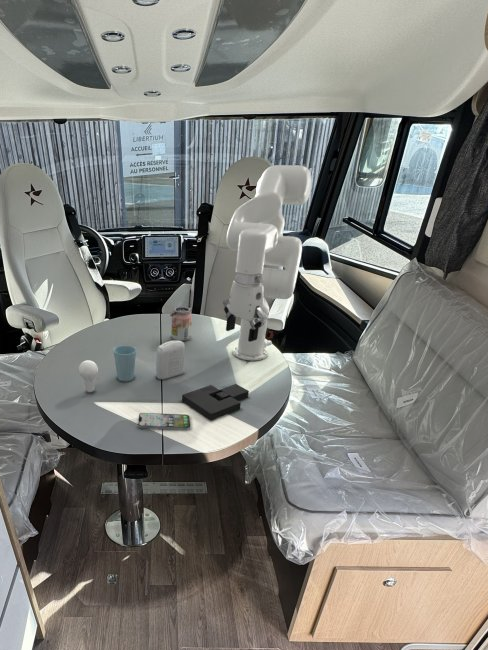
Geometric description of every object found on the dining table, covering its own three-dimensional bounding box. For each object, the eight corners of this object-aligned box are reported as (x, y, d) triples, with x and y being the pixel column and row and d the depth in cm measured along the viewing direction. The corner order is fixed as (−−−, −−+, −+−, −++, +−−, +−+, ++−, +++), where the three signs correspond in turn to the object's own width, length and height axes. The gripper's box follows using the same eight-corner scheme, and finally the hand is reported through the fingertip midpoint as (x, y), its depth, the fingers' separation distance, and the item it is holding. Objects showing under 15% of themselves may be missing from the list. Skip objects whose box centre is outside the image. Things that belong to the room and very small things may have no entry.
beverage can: (166, 335, 185) (167, 306, 178) (184, 332, 187) (185, 304, 180) (176, 343, 178) (177, 314, 171) (194, 340, 181) (196, 311, 174)
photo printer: (178, 369, 159) (179, 336, 152) (185, 373, 156) (187, 340, 149) (154, 376, 154) (154, 343, 147) (161, 381, 151) (162, 347, 144)
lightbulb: (102, 389, 147) (100, 358, 140) (94, 397, 142) (92, 366, 135) (85, 386, 148) (83, 355, 142) (77, 394, 144) (74, 363, 137)
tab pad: (235, 390, 146) (235, 383, 145) (247, 397, 142) (249, 390, 141) (212, 398, 142) (212, 391, 140) (224, 406, 138) (225, 399, 136)
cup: (138, 373, 156) (137, 345, 150) (134, 383, 150) (134, 355, 144) (117, 372, 157) (115, 344, 151) (113, 382, 151) (111, 353, 145)
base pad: (210, 391, 146) (210, 384, 144) (240, 409, 136) (241, 402, 135) (181, 401, 140) (182, 394, 139) (210, 421, 131) (211, 414, 129)
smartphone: (190, 428, 126) (138, 426, 126) (190, 431, 127) (138, 429, 127) (189, 414, 132) (139, 412, 132) (188, 417, 133) (139, 415, 133)
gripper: (280, 283, 121) (270, 341, 131) (236, 268, 132) (230, 323, 143) (261, 288, 117) (252, 348, 128) (217, 272, 129) (213, 328, 139)
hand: (241, 335), depth 135 cm, fingers open, 9 cm apart
